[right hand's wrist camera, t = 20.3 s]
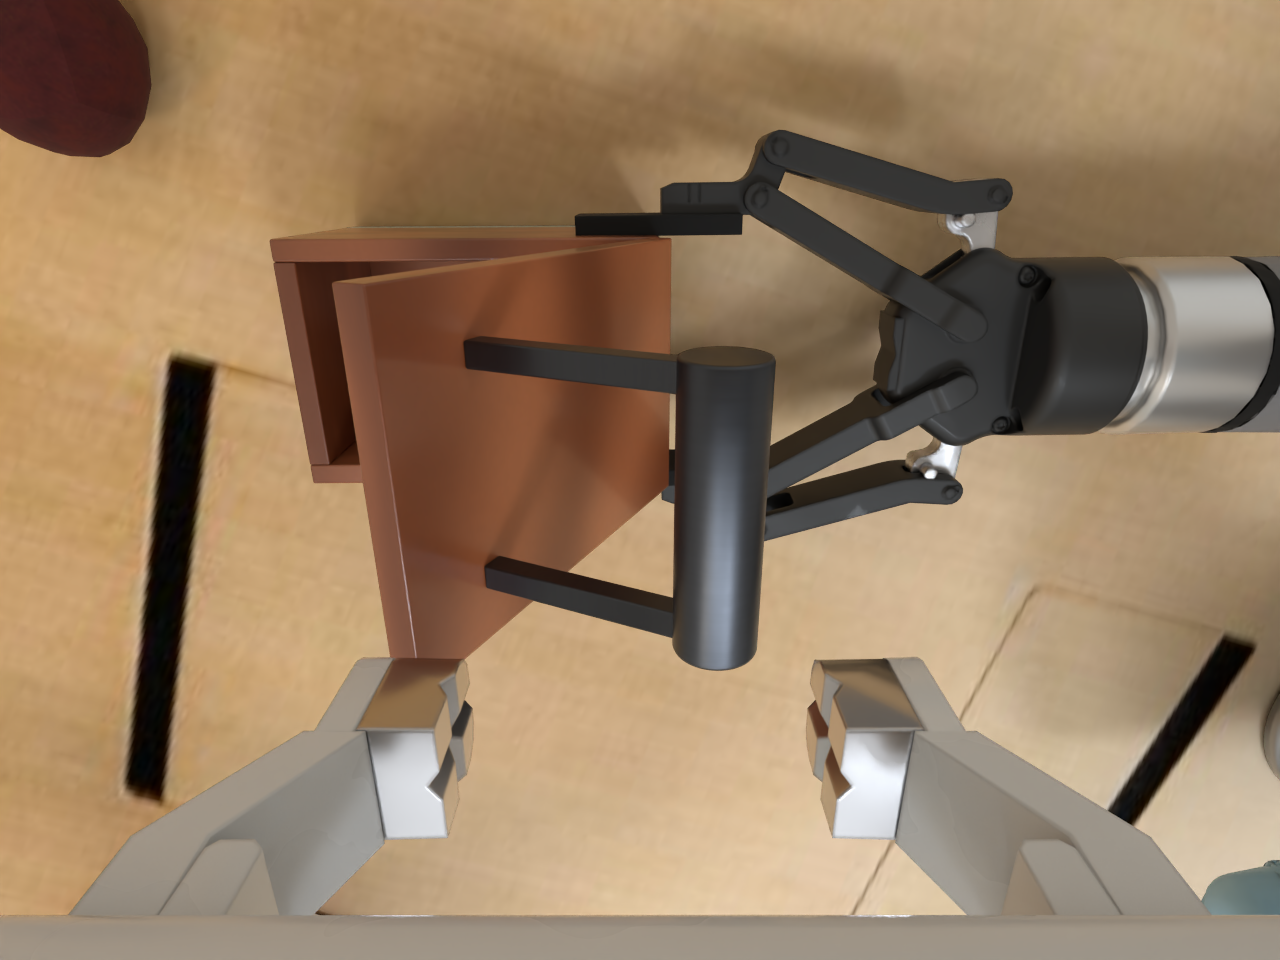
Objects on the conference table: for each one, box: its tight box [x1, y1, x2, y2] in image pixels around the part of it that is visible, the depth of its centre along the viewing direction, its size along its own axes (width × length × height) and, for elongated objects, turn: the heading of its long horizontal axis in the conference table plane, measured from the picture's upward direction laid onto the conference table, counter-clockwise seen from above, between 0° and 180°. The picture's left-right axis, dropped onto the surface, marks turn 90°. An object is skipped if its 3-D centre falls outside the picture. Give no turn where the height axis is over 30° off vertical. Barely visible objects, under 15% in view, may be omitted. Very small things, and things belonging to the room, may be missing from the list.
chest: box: [270, 226, 659, 483], centre depth 34 cm, size 15×10×9 cm
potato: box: [0, 0, 151, 157], centre depth 30 cm, size 7×8×7 cm
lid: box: [332, 238, 776, 671], centre depth 21 cm, size 15×10×8 cm
